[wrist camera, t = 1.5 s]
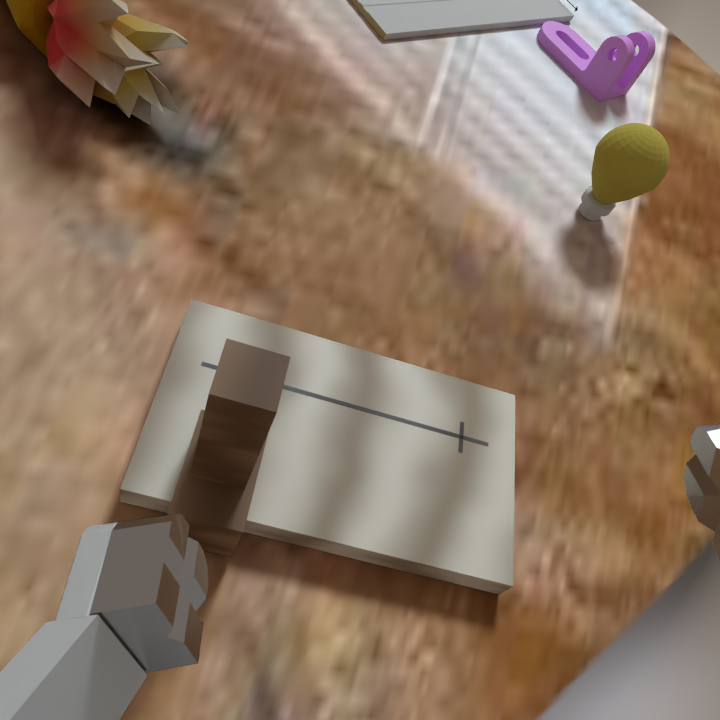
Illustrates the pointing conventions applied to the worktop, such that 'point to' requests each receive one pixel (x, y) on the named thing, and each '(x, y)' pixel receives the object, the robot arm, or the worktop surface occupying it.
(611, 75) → the bracket
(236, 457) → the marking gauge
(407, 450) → the birch board
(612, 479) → the worktop surface
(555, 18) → the baseboard molding
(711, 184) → the worktop surface
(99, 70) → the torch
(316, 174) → the worktop surface
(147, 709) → the worktop surface
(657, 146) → the light bulb
